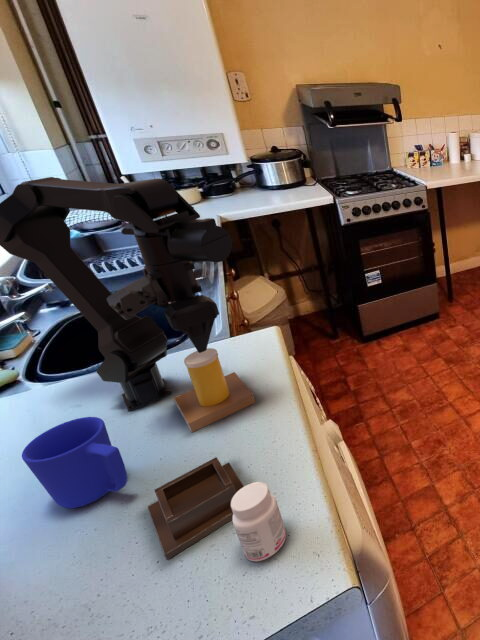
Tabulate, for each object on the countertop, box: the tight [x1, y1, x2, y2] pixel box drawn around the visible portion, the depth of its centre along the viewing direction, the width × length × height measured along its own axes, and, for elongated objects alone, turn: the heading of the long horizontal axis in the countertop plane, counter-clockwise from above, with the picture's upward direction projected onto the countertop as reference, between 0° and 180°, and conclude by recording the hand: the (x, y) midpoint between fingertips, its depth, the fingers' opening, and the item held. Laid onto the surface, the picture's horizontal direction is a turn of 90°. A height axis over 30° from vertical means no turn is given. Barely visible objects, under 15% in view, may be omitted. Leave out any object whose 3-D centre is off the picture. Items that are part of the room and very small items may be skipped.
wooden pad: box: [173, 371, 256, 433], centre depth 80 cm, size 10×10×2 cm
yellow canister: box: [183, 347, 229, 406], centre depth 77 cm, size 5×5×9 cm
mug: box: [21, 416, 128, 509], centre depth 61 cm, size 8×12×10 cm
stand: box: [147, 456, 245, 561], centre depth 60 cm, size 10×10×4 cm
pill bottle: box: [231, 481, 287, 562], centre depth 54 cm, size 5×5×8 cm
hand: (194, 341), depth 76 cm, fingers open, 9 cm apart
